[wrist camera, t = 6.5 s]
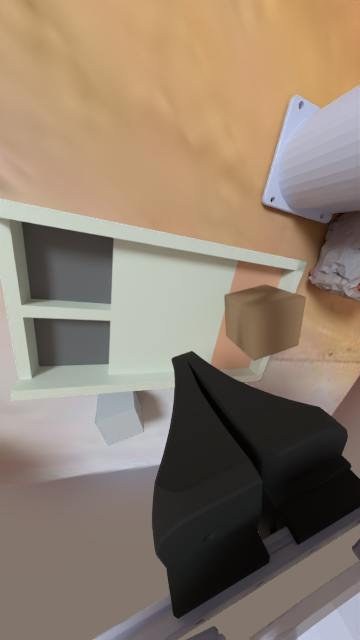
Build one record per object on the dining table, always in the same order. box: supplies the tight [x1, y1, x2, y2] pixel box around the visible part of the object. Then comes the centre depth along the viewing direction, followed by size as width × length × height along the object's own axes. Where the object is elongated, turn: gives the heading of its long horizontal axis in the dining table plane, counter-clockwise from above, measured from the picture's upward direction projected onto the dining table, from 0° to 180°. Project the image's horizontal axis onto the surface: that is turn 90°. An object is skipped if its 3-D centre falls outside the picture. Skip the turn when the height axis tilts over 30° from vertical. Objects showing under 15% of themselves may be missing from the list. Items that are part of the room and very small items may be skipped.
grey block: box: [95, 391, 144, 446], centre depth 22 cm, size 4×4×4 cm
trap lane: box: [0, 199, 307, 401], centre depth 19 cm, size 26×15×4 cm, turn 81°
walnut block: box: [224, 284, 306, 361], centre depth 19 cm, size 5×5×5 cm
